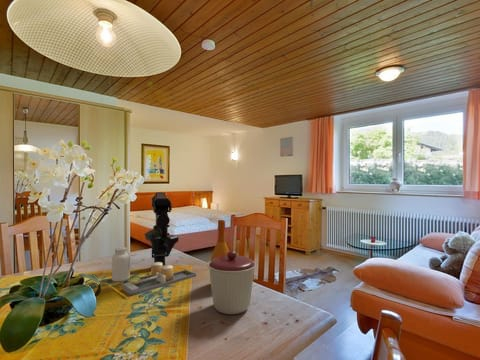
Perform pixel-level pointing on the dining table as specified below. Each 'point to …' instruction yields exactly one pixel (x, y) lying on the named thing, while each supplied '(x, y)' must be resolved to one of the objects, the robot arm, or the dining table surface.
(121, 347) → the dining table surface
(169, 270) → the amber jar
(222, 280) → the canister
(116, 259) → the pill bottle
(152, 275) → the amber jar
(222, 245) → the wine bottle
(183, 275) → the tray
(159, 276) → the pusher
